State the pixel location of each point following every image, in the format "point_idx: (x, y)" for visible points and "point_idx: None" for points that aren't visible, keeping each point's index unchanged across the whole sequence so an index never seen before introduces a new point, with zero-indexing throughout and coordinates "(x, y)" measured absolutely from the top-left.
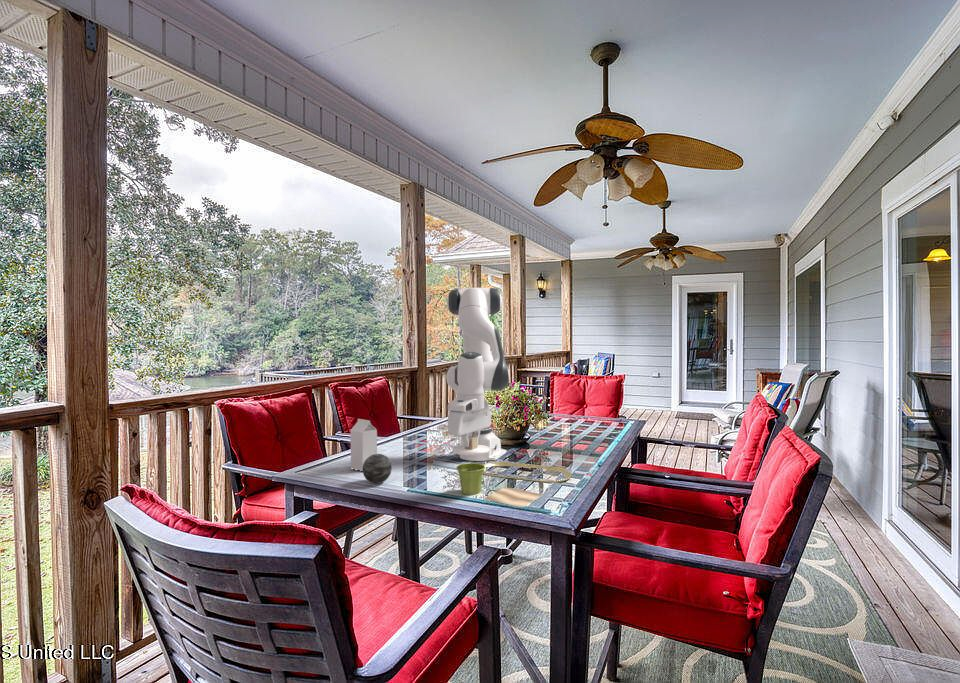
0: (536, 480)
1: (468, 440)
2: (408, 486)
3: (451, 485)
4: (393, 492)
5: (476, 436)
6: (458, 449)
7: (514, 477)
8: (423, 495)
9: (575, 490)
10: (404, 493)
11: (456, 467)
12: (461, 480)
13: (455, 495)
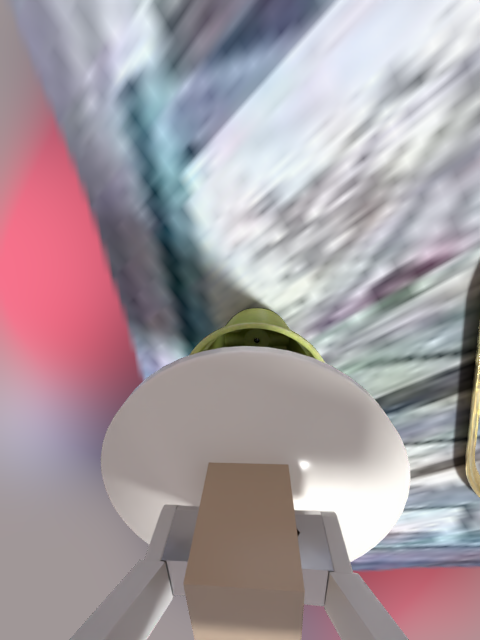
0: (466, 458)
1: (154, 611)
2: (168, 32)
3: (296, 217)
4: (63, 44)
5: (344, 632)
6: (153, 441)
7: (474, 393)
8: (132, 205)
9: (428, 537)
10: (92, 109)
11: (204, 338)
12: (211, 346)
13: (207, 306)
